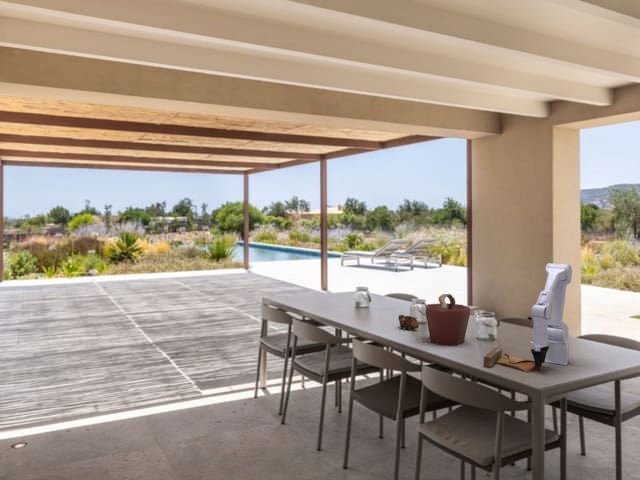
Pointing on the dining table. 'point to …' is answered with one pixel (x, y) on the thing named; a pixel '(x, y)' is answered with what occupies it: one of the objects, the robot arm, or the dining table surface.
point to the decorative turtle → (407, 322)
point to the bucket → (447, 321)
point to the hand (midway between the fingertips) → (539, 364)
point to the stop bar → (492, 357)
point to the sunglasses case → (517, 363)
